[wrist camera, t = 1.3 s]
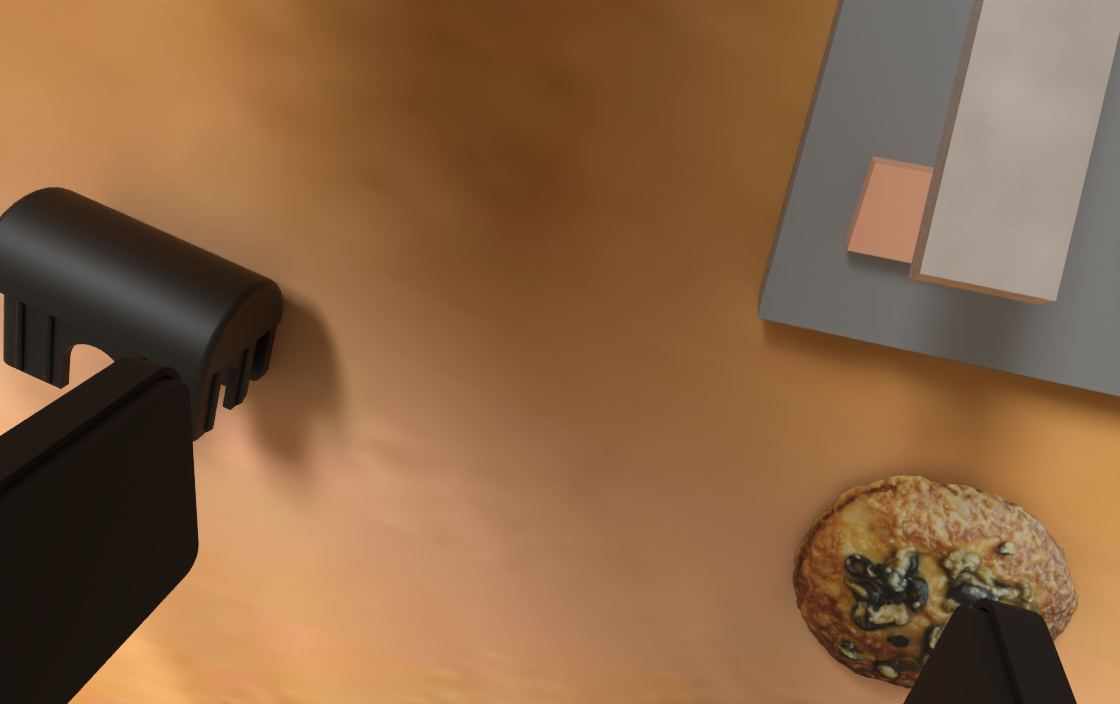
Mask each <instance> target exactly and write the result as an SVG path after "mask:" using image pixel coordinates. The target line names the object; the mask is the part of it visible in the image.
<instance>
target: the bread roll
mask: <svg viewBox="0 0 1120 704" xmlns="http://www.w3.org/2000/svg"><path fill="white" fill-rule="evenodd" d="M794 561H795V570H794V573H793V584H794V588H795V592H796V596H797V606H798V608H799V609H800V610H801V613H802V617H803V618H804V620H805V621H806V623H807V625H808V627H809V629H810V631H811V632H812V633H813V634H814V635H815V637H816V638H817V639H818V641H819V643H821V644H822V645H823V646H824V647H825V648H826V649H827V651H828V652H829V653H830V655H831V656H832V657H833V658H834V659H836V660H837V661H838V662H839V663H841V664H844V665H845V666H846V667H848V668H849V669H851V670H852V671H853V672H855V673H857V674H859V675H862V676H865V677H868V678H875V679H878V680H882V681H886V682H888V683H891V684H894V685H897V686H903V687H905V688H912V687H913V685H914V683H915V682H916V680H917V678H918V676H919V674H920V672H921V671H922V669H923V667H924V665H925V663H926V661H927V660H928V658H929V656H930V654H931V652H932V650H933V648H934V647H935V645H936V643H937V641H938V639H939V637H940V636H941V634H942V632H943V630H944V628H945V626H946V625H947V623H948V621H949V619H950V617H951V615H952V614H953V612H954V611H955V609H956V608H957V607H959V606H960V605H964V606H968V607H971V608H972V606H973V605H974V603H975V602H976V601H978V600H979V599H980V598H988V599H992V600H996V601H999V602H1003V603H1006V604H1010V605H1013V606H1017V607H1020V608H1024V609H1027V610H1031V611H1034V612H1037V613H1039V614H1040V615H1041V616H1042V617H1043V619H1044V620H1045V622H1046V624H1047V627H1048V629H1049V632H1050V635H1051V637H1052V640H1053V642H1054V640H1055V639H1056V638H1057V637H1058V636H1059V635H1060V634H1061V633H1062V632H1063V631H1064V629H1065V627H1066V625H1067V624H1068V623H1069V621H1070V619H1071V616H1072V614H1073V613H1074V612H1075V611H1076V609H1077V607H1078V598H1079V596H1078V594H1077V593H1076V592H1075V585H1074V582H1073V580H1072V578H1071V575H1070V572H1069V568H1068V565H1067V562H1066V560H1065V557H1064V550H1063V548H1061V549H1060V548H1059V546H1058V544H1057V543H1056V542H1055V541H1054V539H1053V538H1052V537H1051V535H1050V534H1049V533H1048V531H1047V530H1046V528H1045V527H1044V525H1043V524H1042V523H1041V521H1040V520H1039V519H1037V518H1036V517H1035V516H1033V515H1031V514H1029V513H1028V512H1027V511H1025V510H1024V509H1023V508H1021V507H1020V506H1018V505H1016V504H1014V503H1012V502H1010V501H1008V500H1005V499H1003V498H1002V497H999V496H997V495H995V494H993V493H991V492H988V491H982V490H979V489H975V488H973V487H970V486H967V485H959V484H942V483H937V482H933V481H930V480H928V479H926V478H924V477H922V476H905V475H899V476H892V477H888V478H887V479H883V480H878V481H874V482H872V483H871V484H868V485H864V486H856V487H854V488H852V489H850V490H847V491H844V492H843V493H842V494H841V495H840V497H839V498H838V500H837V501H836V502H835V503H834V504H833V505H831V506H830V507H829V508H828V509H827V510H826V511H825V512H823V513H822V514H821V515H820V516H819V517H818V518H816V519H815V520H814V522H813V523H812V527H811V529H810V531H809V533H808V534H807V535H806V536H805V537H804V538H803V540H802V542H801V544H800V545H799V546H798V547H797V551H796V554H795V560H794Z"/></svg>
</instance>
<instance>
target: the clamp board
mask: <svg viewBox="0 0 1120 704" xmlns="http://www.w3.org/2000/svg"><path fill="white" fill-rule="evenodd" d="M972 2H973V0H839V1H838V5H837V8H836V12H835V16H834V20H833V23H832V27H831V31H830V34H829V38H828V42H827V45H826V49H825V53H824V56H823V60H822V64H821V68H820V71H819V75H818V79H817V82H816V86H815V90H814V93H813V97H812V101H811V104H810V108H809V112H808V116H807V119H806V123H805V127H804V130H803V134H802V138H801V141H800V145H799V149H798V153H797V156H796V160H795V164H794V167H793V171H792V175H791V178H790V182H789V186H788V189H787V193H786V197H785V201H784V204H783V208H782V212H781V215H780V219H779V223H778V226H777V230H776V234H775V237H774V241H773V245H772V249H771V252H770V256H769V260H768V263H767V267H766V271H765V274H764V278H763V282H762V285H761V289H760V293H759V297H758V312H757V318H760V319H765V320H769V321H774V322H778V323H783V324H788V325H792V326H797V327H801V328H806V329H811V330H815V331H820V332H825V333H829V334H834V335H838V336H843V337H848V338H852V339H857V340H861V341H866V342H871V343H875V344H880V345H885V346H889V347H894V348H898V349H903V350H908V351H912V352H917V353H922V354H926V355H931V356H935V357H940V358H945V359H949V360H954V361H958V362H963V363H968V364H972V365H977V366H982V367H986V368H991V369H995V370H1000V371H1005V372H1009V373H1014V374H1018V375H1023V376H1028V377H1032V378H1037V379H1042V380H1046V381H1051V382H1055V383H1060V384H1065V385H1069V386H1074V387H1079V388H1083V389H1088V390H1092V391H1097V392H1102V393H1106V394H1111V395H1115V396H1120V33H1119V37H1118V41H1117V45H1116V50H1115V54H1114V58H1113V62H1112V67H1111V71H1110V75H1109V79H1108V83H1107V88H1106V92H1105V96H1104V100H1103V105H1102V109H1101V113H1100V117H1099V121H1098V126H1097V130H1096V134H1095V138H1094V143H1093V147H1092V151H1091V155H1090V159H1089V164H1088V168H1087V172H1086V176H1085V181H1084V185H1083V189H1082V193H1081V197H1080V202H1079V206H1078V210H1077V214H1076V219H1075V223H1074V227H1073V231H1072V235H1071V240H1070V244H1069V248H1068V252H1067V257H1066V261H1065V265H1064V269H1063V273H1062V278H1061V282H1060V286H1059V290H1058V294H1057V299H1056V301H1054V302H1048V303H1042V304H1033V303H1028V302H1023V301H1018V300H1013V299H1008V298H1003V297H998V296H994V295H989V294H984V293H979V292H974V291H969V290H964V289H959V288H954V287H950V286H945V285H940V284H935V283H930V282H925V281H920V280H915V279H910V278H908V276H909V272H910V267H911V263H912V259H913V254H914V250H915V246H916V242H917V237H918V233H919V229H920V225H921V220H922V216H923V212H924V207H925V203H926V199H927V195H928V190H929V186H930V182H931V178H932V173H933V169H934V165H935V160H936V156H937V152H938V148H939V143H940V139H941V135H942V131H943V126H944V122H945V118H946V113H947V109H948V105H949V101H950V96H951V92H952V88H953V83H954V79H955V75H956V71H957V66H958V62H959V58H960V54H961V49H962V45H963V41H964V36H965V32H966V28H967V24H968V19H969V15H970V11H971V7H972Z"/></svg>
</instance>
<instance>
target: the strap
mask: <svg viewBox="0 0 1120 704" xmlns="http://www.w3.org/2000/svg"><path fill="white" fill-rule="evenodd" d="M1119 33H1120V0H973V2H972V7H971V11H970V15H969V19H968V24H967V28H966V32H965V36H964V41H963V45H962V49H961V54H960V58H959V62H958V66H957V71H956V75H955V79H954V83H953V88H952V92H951V96H950V101H949V105H948V109H947V113H946V118H945V122H944V126H943V131H942V135H941V139H940V143H939V148H938V152H937V156H936V160H935V165H934V169H933V173H932V178H931V182H930V186H929V190H928V195H927V199H926V203H925V207H924V212H923V216H922V220H921V225H920V229H919V233H918V237H917V242H916V246H915V250H914V254H913V259H912V263H911V267H910V272H909V276H908V278H910V279H915V280H920V281H925V282H930V283H935V284H940V285H945V286H950V287H954V288H959V289H964V290H969V291H974V292H979V293H984V294H989V295H994V296H998V297H1003V298H1008V299H1013V300H1018V301H1023V302H1028V303H1033V304H1042V303H1048V302H1054V301H1056V299H1057V294H1058V290H1059V286H1060V282H1061V278H1062V273H1063V269H1064V265H1065V261H1066V257H1067V252H1068V248H1069V244H1070V240H1071V235H1072V231H1073V227H1074V223H1075V219H1076V214H1077V210H1078V206H1079V202H1080V197H1081V193H1082V189H1083V185H1084V181H1085V176H1086V172H1087V168H1088V164H1089V159H1090V155H1091V151H1092V147H1093V143H1094V138H1095V134H1096V130H1097V126H1098V121H1099V117H1100V113H1101V109H1102V105H1103V100H1104V96H1105V92H1106V88H1107V83H1108V79H1109V75H1110V71H1111V67H1112V62H1113V58H1114V54H1115V50H1116V45H1117V41H1118V37H1119Z"/></svg>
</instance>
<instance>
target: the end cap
mask: <svg viewBox="0 0 1120 704" xmlns="http://www.w3.org/2000/svg"><path fill="white" fill-rule="evenodd" d="M0 293H2V294H4V362H5V363H6V364H8V365H9V366H11V367H14V368H16V369H18V370H20V371H22V372H25V373H27V374H29V375H31V376H33V377H36V378H38V379H40V380H42V381H44V382H47V383H49V384H51V385H53V386H55V387H58V388H60V389H62V388H63V387H65V386H66V385H68V384H69V370H70V355H71V351H72V349H73V347H74V346H75V345H77V344H86V345H91V346H94V347H96V348H98V349H100V350H102V351H103V352H105V353H106V354H107V355H109V356H110V357H111V358H112V359H113V360H114V362H116V361H117V360H119V359H121V358H124V357H136V358H139V359H143V360H146V361H150V362H154V363H157V364H161V365H164V366H168V367H171V368H173V369H174V370H176V371H177V373H178V375H179V376H180V381H181V383H183V384H185V385H186V386H187V387H188V389H189V394H190V407H191V424H192V441H195V440H197V439H199V438H200V437H201V436H202V435H203V434H204V433H205V432H208V431H210V430H212V429H213V425H214V421H215V415H216V409H217V403H218V398H219V392H220V386H221V384H222V385H224V386H226V390H225V396H224V401H223V407H225V408H227V409H229V410H231V409H233V408H234V407H235V406H236V405H239V404H241V403H242V402H243V399H244V398H245V397H246V395H247V390H248V385H249V380H253V381H255V380H258V379H260V378H261V377H262V376H263V375H264V374H265V373H266V372H267V370H268V366H269V361H270V356H271V351H272V347H273V342H274V337H275V332H276V327H277V324H278V323H279V322H280V321H281V316H282V304H283V300H282V294H281V291H280V289H279V287H278V285H277V284H276V283H275V282H274V281H272V280H271V279H269V278H266V277H264V276H262V275H260V274H257V273H255V272H253V271H251V270H248V269H246V268H244V267H242V266H239V265H237V264H235V263H233V262H230V261H228V260H226V259H224V258H221V257H219V256H217V255H215V254H212V253H210V252H208V251H206V250H203V249H201V248H199V247H197V246H195V245H192V244H190V243H188V242H186V241H183V240H181V239H179V238H177V237H174V236H172V235H170V234H168V233H165V232H163V231H161V230H159V229H156V228H154V227H152V226H150V225H147V224H145V223H143V222H141V221H138V220H136V219H134V218H132V217H129V216H127V215H125V214H123V213H120V212H118V211H116V210H114V209H111V208H109V207H107V206H105V205H102V204H100V203H98V202H96V201H93V200H91V199H89V198H87V197H84V196H82V195H80V194H78V193H76V192H73V191H71V190H67V189H64V188H59V187H50V188H44V189H40V190H36V191H34V192H32V193H30V194H28V195H26V196H24V197H23V198H21V199H20V200H18V201H17V202H15V203H14V204H13V205H12V206H11V207H10V208H9V209H8V210H6V211H5V212H4V213H3V214H2V216H1V217H0Z"/></svg>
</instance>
